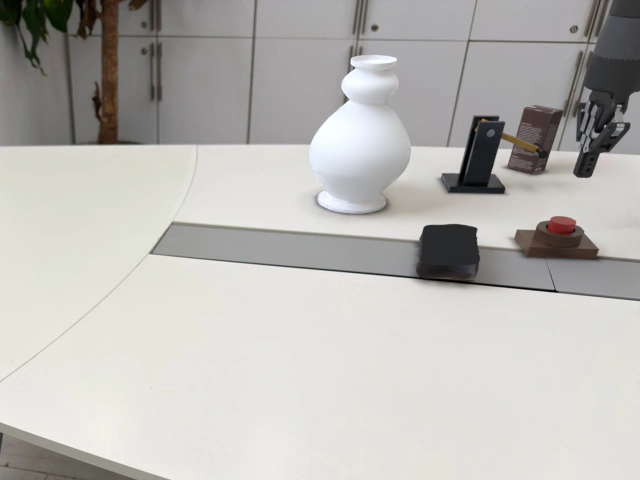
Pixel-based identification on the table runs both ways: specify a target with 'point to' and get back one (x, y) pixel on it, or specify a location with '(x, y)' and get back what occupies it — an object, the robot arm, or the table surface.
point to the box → (535, 137)
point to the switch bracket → (478, 159)
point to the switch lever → (524, 144)
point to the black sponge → (448, 252)
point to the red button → (561, 224)
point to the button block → (555, 243)
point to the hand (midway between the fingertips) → (581, 176)
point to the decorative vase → (361, 140)
